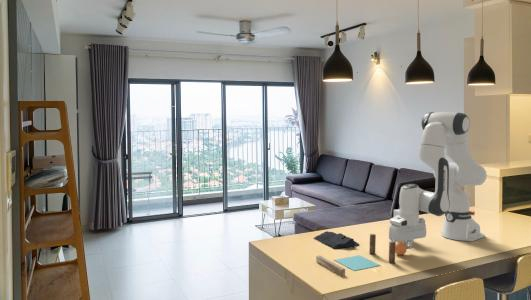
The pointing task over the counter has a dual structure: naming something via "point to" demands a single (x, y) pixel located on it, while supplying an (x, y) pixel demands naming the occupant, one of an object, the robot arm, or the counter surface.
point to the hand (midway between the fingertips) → (407, 248)
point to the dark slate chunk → (336, 240)
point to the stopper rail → (330, 265)
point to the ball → (400, 248)
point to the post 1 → (372, 244)
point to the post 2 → (392, 252)
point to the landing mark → (356, 262)
